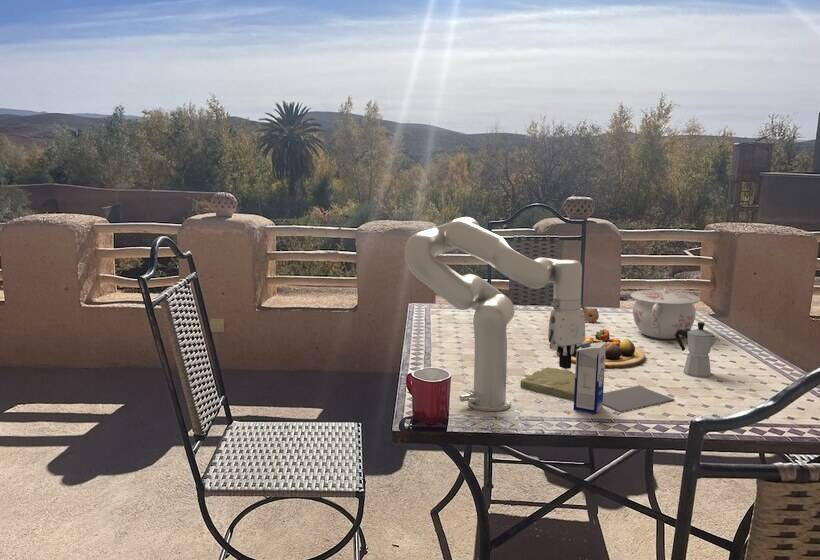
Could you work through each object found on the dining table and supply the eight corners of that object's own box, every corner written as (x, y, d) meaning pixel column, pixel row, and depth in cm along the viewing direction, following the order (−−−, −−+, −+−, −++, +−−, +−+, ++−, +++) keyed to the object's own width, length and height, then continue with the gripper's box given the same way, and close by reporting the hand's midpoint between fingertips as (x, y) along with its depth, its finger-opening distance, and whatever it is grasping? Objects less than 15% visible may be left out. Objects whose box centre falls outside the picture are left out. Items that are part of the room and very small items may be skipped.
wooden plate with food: (575, 340, 273) (576, 321, 271) (655, 353, 255) (656, 332, 253) (542, 361, 247) (542, 339, 246) (628, 376, 229) (629, 353, 228)
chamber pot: (667, 325, 297) (670, 279, 294) (712, 341, 272) (717, 291, 268) (613, 330, 289) (616, 283, 285) (655, 346, 263) (658, 295, 259)
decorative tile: (577, 402, 203) (577, 391, 203) (519, 388, 216) (519, 377, 215) (602, 387, 217) (603, 376, 217) (547, 374, 230) (547, 364, 229)
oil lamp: (578, 322, 302) (578, 305, 301) (578, 320, 306) (578, 303, 305) (598, 323, 300) (599, 306, 299) (598, 321, 304) (599, 304, 302)
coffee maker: (720, 374, 229) (725, 323, 226) (710, 380, 222) (715, 328, 219) (677, 365, 239) (681, 316, 236) (667, 370, 233) (670, 320, 230)
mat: (620, 412, 194) (620, 411, 194) (587, 397, 206) (587, 396, 206) (674, 400, 204) (674, 399, 204) (639, 386, 216) (639, 385, 216)
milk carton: (596, 414, 193) (600, 347, 189) (573, 410, 196) (576, 343, 192) (602, 406, 199) (606, 341, 195) (580, 402, 202) (583, 338, 198)
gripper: (554, 309, 180) (552, 375, 183) (596, 303, 187) (594, 367, 190) (537, 304, 187) (535, 368, 190) (578, 299, 194) (576, 360, 197)
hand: (565, 367), depth 190 cm, fingers closed
